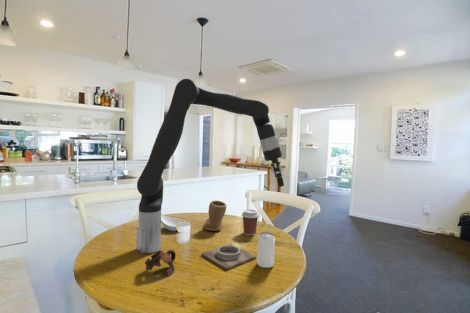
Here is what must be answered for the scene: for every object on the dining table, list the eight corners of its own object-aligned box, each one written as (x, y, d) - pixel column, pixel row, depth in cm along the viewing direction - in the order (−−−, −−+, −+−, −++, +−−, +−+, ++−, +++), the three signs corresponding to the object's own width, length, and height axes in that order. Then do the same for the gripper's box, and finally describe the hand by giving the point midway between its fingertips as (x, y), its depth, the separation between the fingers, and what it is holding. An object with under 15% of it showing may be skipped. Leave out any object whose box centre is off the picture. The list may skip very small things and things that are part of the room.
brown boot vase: (224, 233, 133) (225, 204, 132) (202, 232, 133) (203, 203, 133) (226, 224, 148) (227, 198, 148) (206, 223, 149) (207, 197, 148)
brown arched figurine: (165, 282, 86) (153, 261, 85) (148, 286, 90) (136, 266, 90) (186, 259, 96) (175, 241, 95) (169, 264, 101) (159, 246, 100)
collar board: (226, 270, 94) (226, 262, 94) (201, 255, 106) (201, 248, 105) (255, 258, 105) (256, 251, 105) (230, 246, 116) (230, 239, 116)
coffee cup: (261, 232, 135) (262, 210, 135) (253, 238, 127) (254, 214, 127) (246, 229, 140) (247, 207, 139) (237, 234, 132) (238, 211, 132)
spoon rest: (189, 227, 141) (189, 214, 140) (180, 234, 129) (180, 220, 129) (151, 223, 146) (151, 210, 146) (138, 229, 135) (139, 216, 134)
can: (263, 270, 95) (264, 238, 95) (254, 262, 101) (255, 232, 100) (277, 266, 98) (278, 236, 98) (267, 259, 104) (268, 230, 103)
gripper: (262, 149, 116) (272, 183, 117) (261, 151, 102) (273, 190, 103) (278, 144, 115) (288, 178, 116) (279, 146, 101) (291, 185, 102)
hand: (281, 184), depth 110 cm, fingers open, 8 cm apart
